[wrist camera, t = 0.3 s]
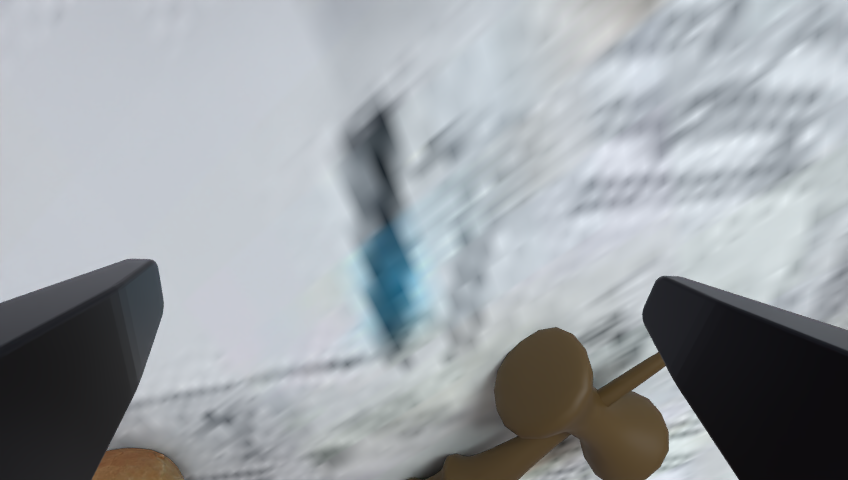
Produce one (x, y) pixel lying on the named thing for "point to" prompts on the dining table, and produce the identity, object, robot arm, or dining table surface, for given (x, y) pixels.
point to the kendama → (567, 414)
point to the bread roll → (136, 466)
